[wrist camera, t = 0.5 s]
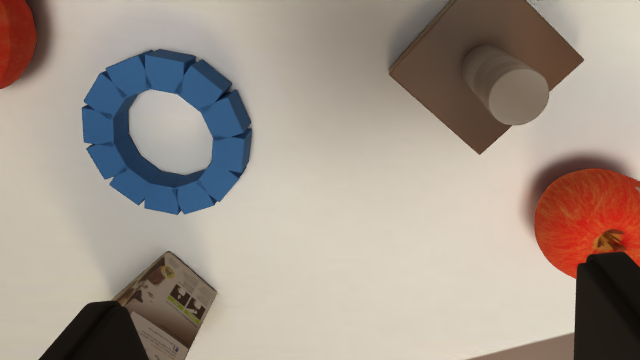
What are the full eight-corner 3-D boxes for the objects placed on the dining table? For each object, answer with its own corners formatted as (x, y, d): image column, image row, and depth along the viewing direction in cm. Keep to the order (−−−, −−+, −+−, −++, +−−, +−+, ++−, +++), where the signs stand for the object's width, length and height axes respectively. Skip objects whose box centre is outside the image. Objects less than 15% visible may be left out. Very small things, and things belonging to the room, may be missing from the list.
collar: (147, 14, 33) (132, 18, 31) (282, 124, 36) (276, 134, 33) (73, 136, 38) (55, 147, 36) (197, 225, 40) (187, 240, 38)
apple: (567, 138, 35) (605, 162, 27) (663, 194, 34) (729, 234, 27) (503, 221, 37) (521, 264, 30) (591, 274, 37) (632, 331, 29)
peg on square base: (484, -37, 30) (530, -39, 21) (576, 56, 31) (653, 89, 23) (387, 70, 33) (393, 106, 25) (475, 148, 35) (509, 207, 26)
